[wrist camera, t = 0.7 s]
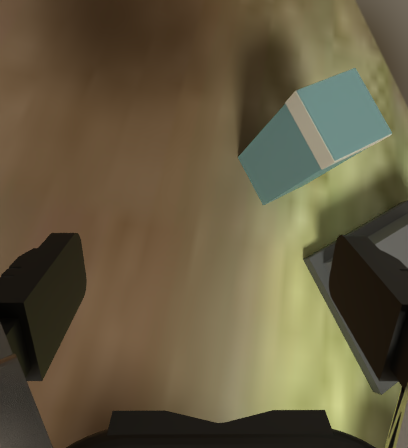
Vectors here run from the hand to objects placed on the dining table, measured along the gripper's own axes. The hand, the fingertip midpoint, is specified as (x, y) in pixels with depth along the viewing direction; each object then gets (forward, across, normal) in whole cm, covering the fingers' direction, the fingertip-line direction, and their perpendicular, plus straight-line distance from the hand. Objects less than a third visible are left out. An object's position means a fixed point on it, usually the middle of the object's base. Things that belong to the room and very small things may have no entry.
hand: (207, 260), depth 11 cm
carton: (+22, -7, +3) cm, 24 cm away
